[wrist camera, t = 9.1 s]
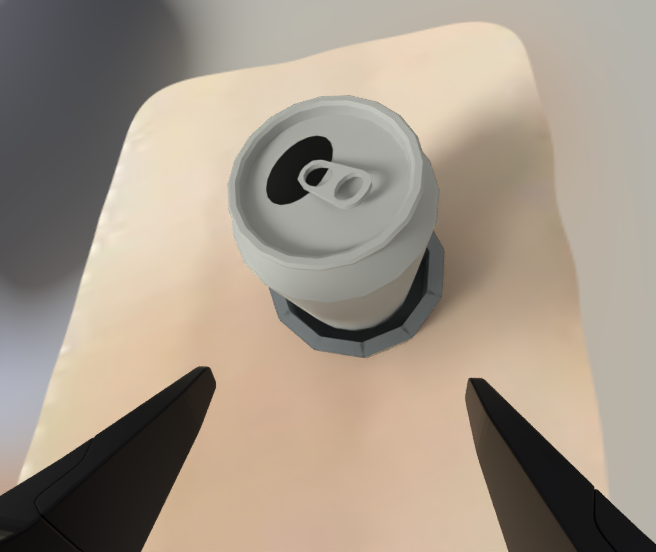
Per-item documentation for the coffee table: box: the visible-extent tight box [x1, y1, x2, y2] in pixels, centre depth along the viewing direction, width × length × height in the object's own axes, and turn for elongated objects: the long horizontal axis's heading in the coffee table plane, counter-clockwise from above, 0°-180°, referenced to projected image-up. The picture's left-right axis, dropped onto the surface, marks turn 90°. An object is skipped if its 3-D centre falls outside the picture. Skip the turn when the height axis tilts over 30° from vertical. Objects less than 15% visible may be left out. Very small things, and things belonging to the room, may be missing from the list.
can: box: [228, 95, 439, 332], centre depth 14 cm, size 8×8×12 cm
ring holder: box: [269, 231, 444, 358], centre depth 19 cm, size 11×11×3 cm
